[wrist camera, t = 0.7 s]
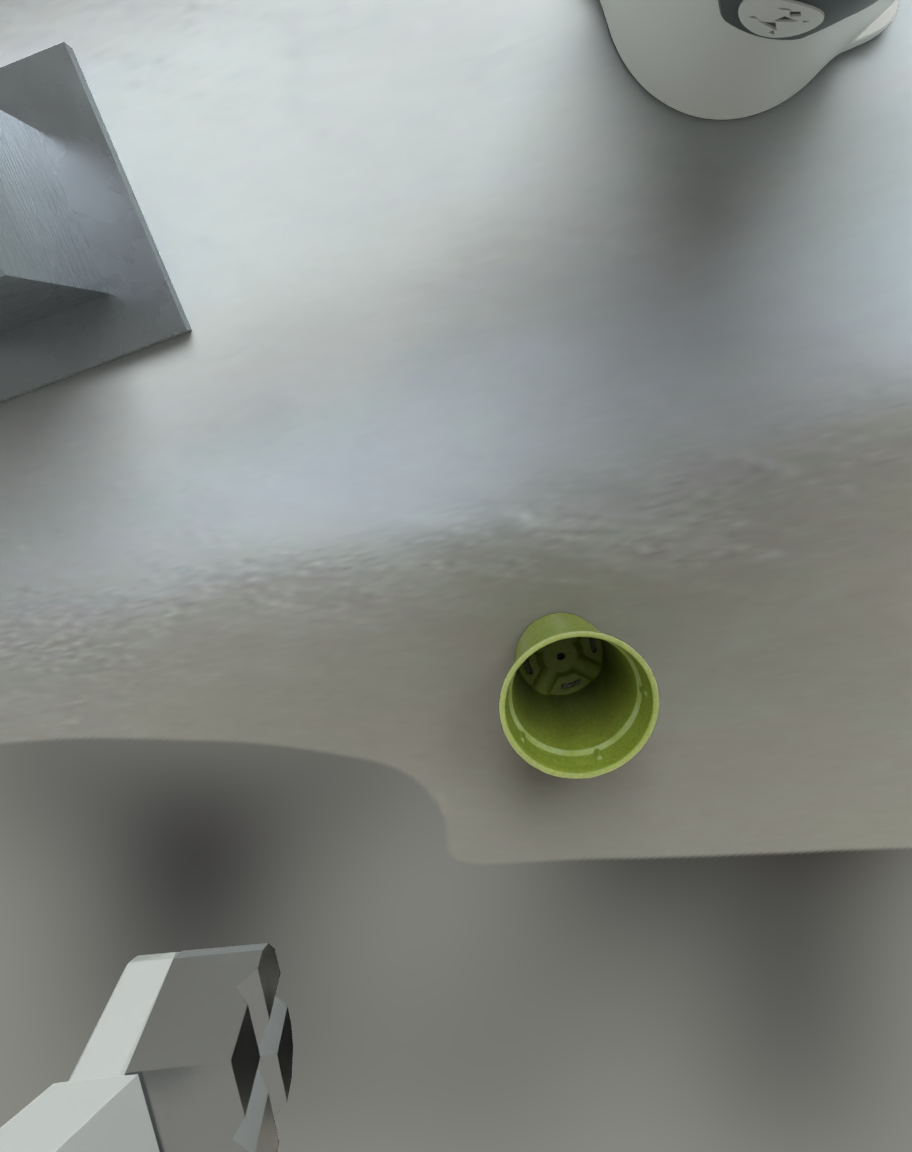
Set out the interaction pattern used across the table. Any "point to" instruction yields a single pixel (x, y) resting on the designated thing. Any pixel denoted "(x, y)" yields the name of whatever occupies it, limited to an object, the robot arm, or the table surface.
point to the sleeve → (69, 234)
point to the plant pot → (577, 699)
